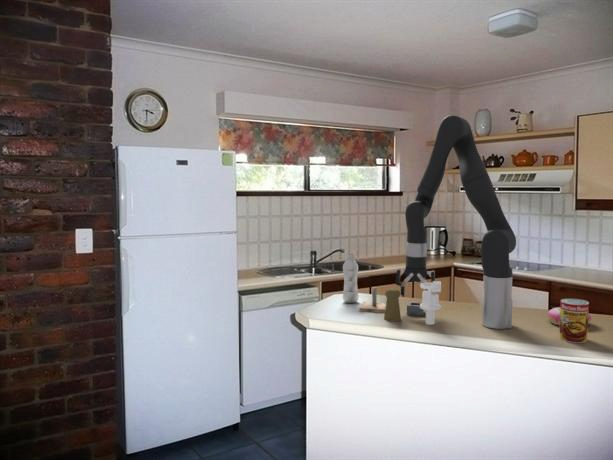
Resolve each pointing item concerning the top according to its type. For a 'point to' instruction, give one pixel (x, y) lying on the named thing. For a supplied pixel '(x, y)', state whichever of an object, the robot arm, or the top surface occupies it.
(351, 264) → the plastic bottle
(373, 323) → the top surface
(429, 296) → the strainer
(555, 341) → the top surface
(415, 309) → the grey hollow square block
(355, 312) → the top surface
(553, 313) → the donut
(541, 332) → the top surface
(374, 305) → the toggle switch
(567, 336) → the canned food
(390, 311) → the cork
